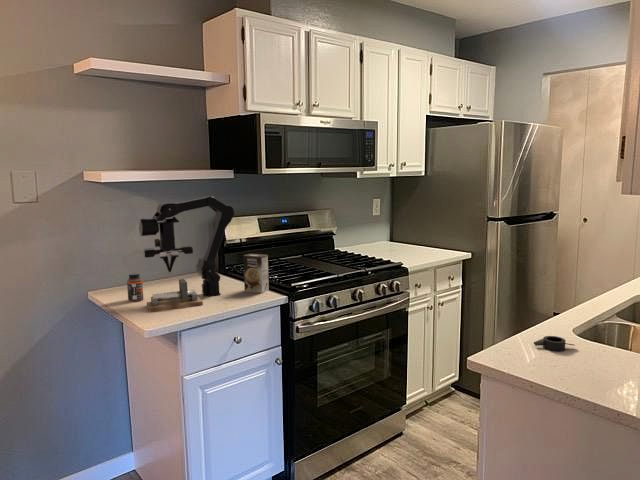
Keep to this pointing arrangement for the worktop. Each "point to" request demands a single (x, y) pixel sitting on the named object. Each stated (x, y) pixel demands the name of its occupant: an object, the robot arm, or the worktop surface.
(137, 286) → the supplement bottle
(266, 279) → the coffee box
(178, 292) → the pipe rig
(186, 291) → the slotted grey bracket
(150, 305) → the board
